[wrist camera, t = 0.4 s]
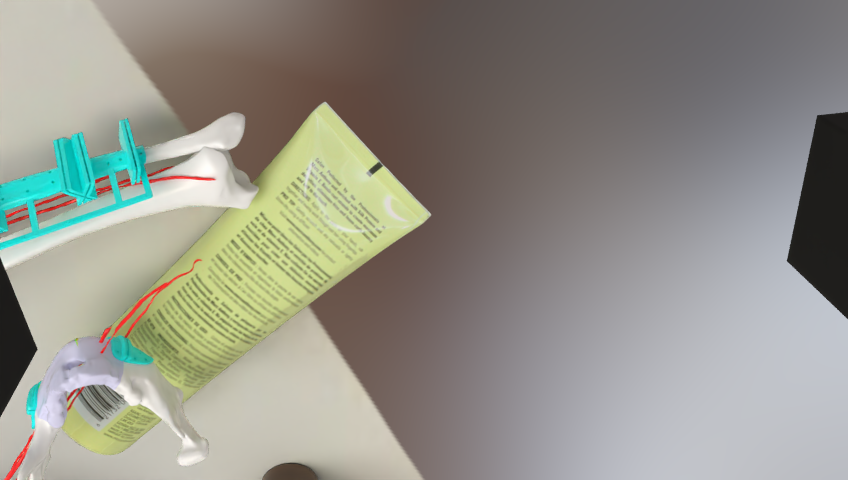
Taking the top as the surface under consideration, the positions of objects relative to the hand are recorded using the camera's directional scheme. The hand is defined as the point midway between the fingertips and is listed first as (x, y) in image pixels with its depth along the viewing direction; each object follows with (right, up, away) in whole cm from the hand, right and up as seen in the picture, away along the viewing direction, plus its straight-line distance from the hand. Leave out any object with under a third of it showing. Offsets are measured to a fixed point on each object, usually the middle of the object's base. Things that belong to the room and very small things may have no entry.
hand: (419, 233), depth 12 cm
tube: (-17, -9, +25) cm, 31 cm away
